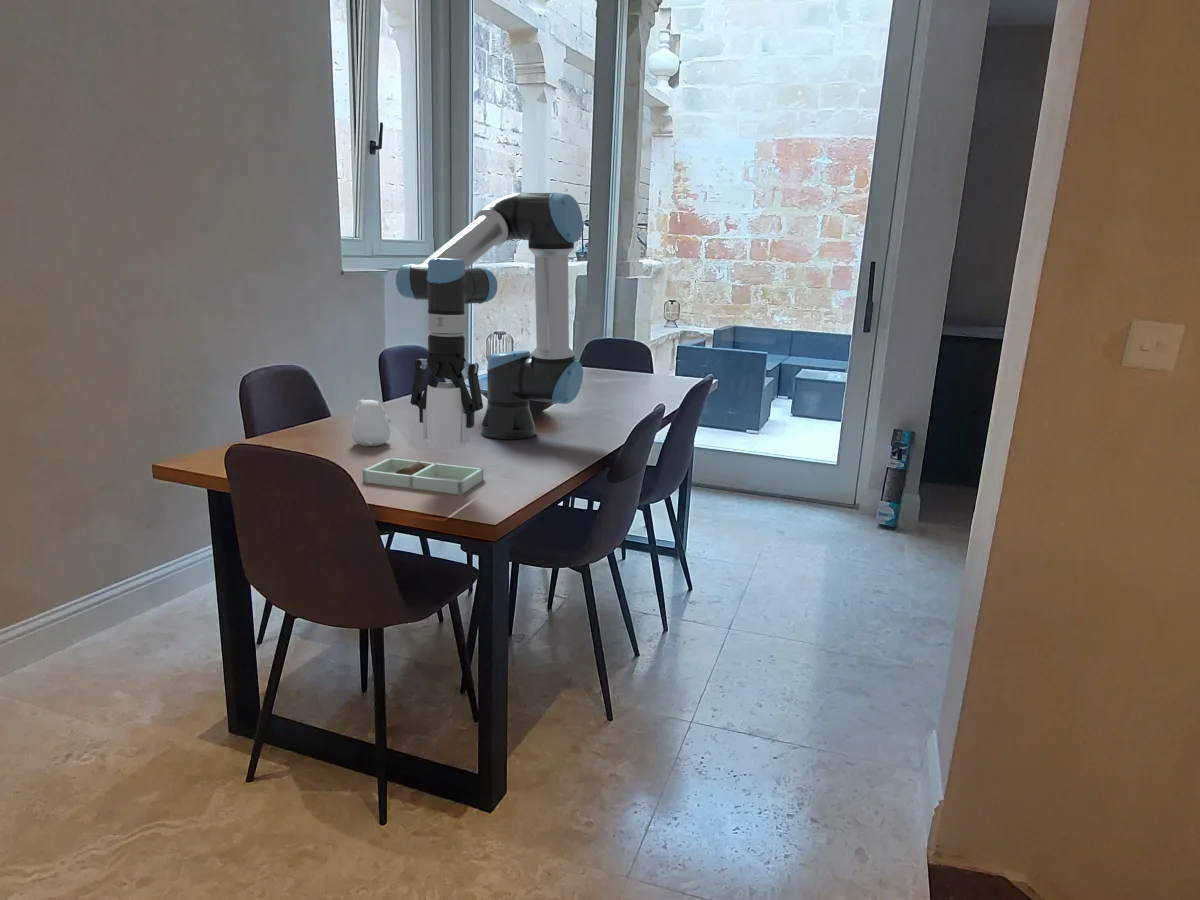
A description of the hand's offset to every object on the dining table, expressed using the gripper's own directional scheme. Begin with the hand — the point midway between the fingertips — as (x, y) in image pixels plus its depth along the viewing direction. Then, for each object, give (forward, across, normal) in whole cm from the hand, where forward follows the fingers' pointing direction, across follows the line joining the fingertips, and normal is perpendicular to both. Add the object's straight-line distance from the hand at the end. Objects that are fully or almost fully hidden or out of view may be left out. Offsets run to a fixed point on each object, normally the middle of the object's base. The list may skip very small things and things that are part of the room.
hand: (446, 439), depth 170 cm
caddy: (+10, -6, 0) cm, 12 cm away
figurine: (+11, -33, +24) cm, 42 cm away
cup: (+3, 0, 0) cm, 3 cm away
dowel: (+9, -10, 0) cm, 14 cm away
